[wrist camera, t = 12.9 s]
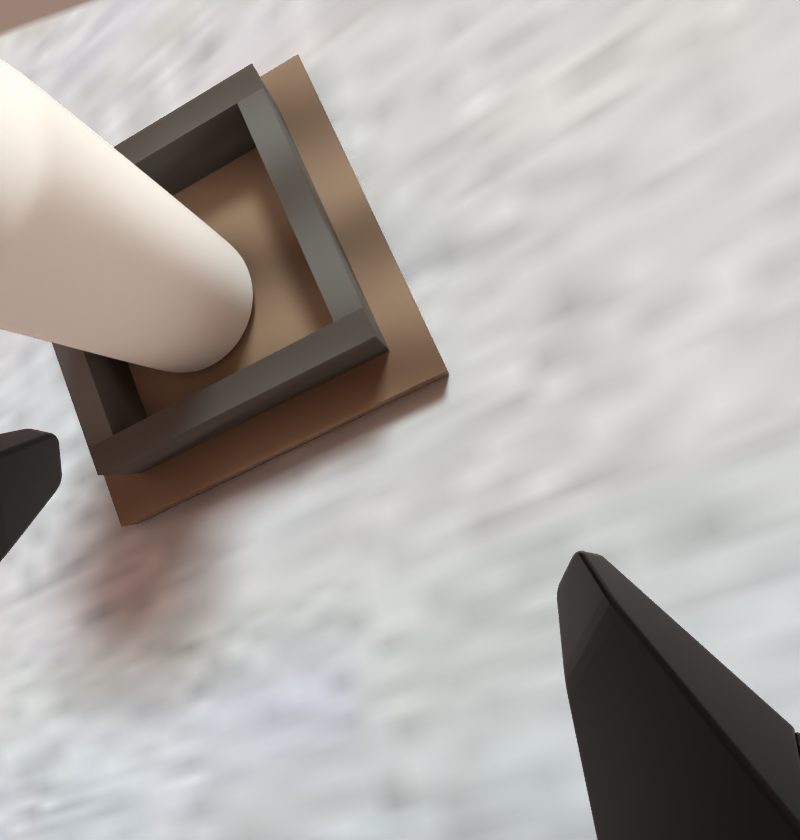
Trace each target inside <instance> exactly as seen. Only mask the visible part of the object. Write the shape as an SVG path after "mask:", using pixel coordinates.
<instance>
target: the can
mask: <svg viewBox="0 0 800 840" xmlns="http://www.w3.org/2000/svg"><path fill="white" fill-rule="evenodd" d="M252 302H253V289H252V282H251V277H250V274H249V271H248V268H247V266H246V264H245V262H244V260H243V259H242V257H241V256H240V254H239V253H238V252H237V251H236V250H235V249H234V248H233V247H232V246H231V245H230V244H229V243H228V242H227V241H226V240H225V239H224V238H222V237H221V236H220V235H219V234H218V233H216V232H215V231H214V230H213V229H212V228H211V227H209V226H208V225H207V224H206V223H205V222H203V221H202V220H201V219H200V218H198V217H197V216H196V215H195V214H194V213H192V212H191V211H190V210H189V209H188V208H186V207H185V206H184V205H183V204H182V203H180V202H179V201H178V200H177V199H176V198H174V197H173V196H172V195H171V194H169V193H168V192H167V191H166V190H165V189H163V188H162V187H161V186H160V185H159V184H157V183H156V182H155V181H154V180H152V179H151V178H150V177H149V176H148V175H146V174H145V173H144V172H143V171H141V170H140V169H139V168H138V167H137V166H135V165H134V164H133V163H132V162H130V161H129V160H128V159H127V158H126V157H124V156H123V155H122V154H121V153H120V152H118V151H117V150H116V149H115V148H113V147H112V146H111V145H110V144H109V143H107V142H106V141H105V140H104V139H102V138H101V137H100V136H99V135H97V134H96V133H95V132H94V131H93V130H91V129H90V128H89V127H88V126H86V125H85V124H84V123H83V122H82V121H80V120H79V119H78V118H77V117H75V116H74V115H73V114H72V113H71V112H69V111H68V110H67V109H66V108H64V107H63V106H62V105H61V104H59V103H58V102H57V101H56V100H54V99H53V98H52V97H51V96H49V95H48V94H47V93H46V92H45V91H43V90H42V89H41V88H39V87H38V86H37V85H36V84H34V83H33V82H32V81H30V80H29V79H28V78H27V77H25V76H24V75H23V74H21V73H20V72H19V71H17V70H16V69H15V68H13V67H12V66H10V65H9V64H7V63H6V62H4V61H3V60H1V59H0V329H3V330H7V331H11V332H14V333H18V334H22V335H26V336H30V337H33V338H37V339H41V340H45V341H49V342H53V343H56V344H60V345H64V346H68V347H72V348H75V349H79V350H83V351H87V352H91V353H95V354H99V355H102V356H106V357H110V358H114V359H118V360H122V361H126V362H130V363H133V364H137V365H141V366H145V367H149V368H153V369H158V370H162V371H167V372H177V373H186V372H195V371H199V370H202V369H205V368H207V367H209V366H211V365H213V364H215V363H216V362H218V361H219V360H221V359H222V358H223V357H225V356H226V355H227V354H228V353H229V352H230V351H231V350H232V349H233V348H234V346H235V345H236V344H237V343H238V341H239V340H240V338H241V336H242V335H243V333H244V331H245V329H246V327H247V324H248V321H249V318H250V315H251V310H252Z"/></svg>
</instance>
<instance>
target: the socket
mask: <svg viewBox="0 0 800 840" xmlns="http://www.w3.org/2000/svg"><path fill="white" fill-rule="evenodd" d="M113 148H115V149H116V150H117V151H118V152H120V153H121V154H122V155H123V156H124V157H126V158H127V159H128V160H129V161H130V162H132V163H133V164H134V165H135V166H137V167H138V168H139V169H140V170H141V171H143V172H144V173H145V174H146V175H148V176H149V177H150V178H151V179H152V180H154V181H155V182H156V183H157V184H159V185H160V186H161V187H162V188H163V189H165V190H166V191H167V192H168V193H169V194H171V195H172V196H173V197H174V198H176V199H177V200H178V201H179V202H180V203H182V204H183V205H184V206H185V207H186V208H188V209H189V210H190V211H191V212H192V213H194V214H195V215H196V216H197V217H198V218H200V219H201V220H202V221H203V222H205V223H206V224H207V225H208V226H209V227H211V228H212V229H213V230H214V231H215V232H216V233H218V234H219V235H220V236H221V237H222V238H224V239H225V240H226V241H227V242H228V243H229V244H230V245H231V246H232V247H233V248H234V249H235V250H236V251H237V252H238V253H239V254H240V256H241V257H242V259H243V260H244V262H245V264H246V266H247V268H248V271H249V274H250V277H251V282H252V289H253V302H252V310H251V315H250V318H249V321H248V324H247V327H246V329H245V331H244V333H243V335H242V336H241V338H240V340H239V341H238V343H237V344H236V345H235V346H234V348H233V349H232V350H231V351H230V352H229V353H228V354H227V355H226V356H225V357H223V358H222V359H221V360H219V361H218V362H216V363H215V364H213V365H211V366H209V367H207V368H205V369H202V370H199V371H195V372H186V373H177V372H167V371H162V370H158V369H153V368H149V367H145V366H141V365H137V364H133V363H130V362H126V361H122V360H118V359H114V358H110V357H106V356H102V355H99V354H95V353H91V352H87V351H83V350H79V349H75V348H72V347H68V346H64V345H60V344H56V343H53V342H52V344H53V347H54V350H55V353H56V356H57V359H58V361H59V364H60V367H61V370H62V373H63V376H64V379H65V382H66V384H67V387H68V390H69V393H70V396H71V399H72V402H73V405H74V407H75V410H76V413H77V416H78V419H79V422H80V425H81V428H82V430H83V433H84V436H85V439H86V442H87V445H88V448H89V451H90V453H91V456H92V459H93V462H94V465H95V468H96V471H97V474H98V475H104V477H105V480H106V483H107V486H108V488H109V491H110V494H111V497H112V500H113V503H114V506H115V509H116V511H117V514H118V517H119V520H120V523H121V526H128V525H133V524H138V523H140V522H142V521H144V520H146V519H148V518H150V517H152V516H154V515H157V514H159V513H161V512H163V511H165V510H167V509H169V508H171V507H173V506H175V505H177V504H180V503H182V502H184V501H186V500H188V499H190V498H192V497H194V496H196V495H198V494H200V493H202V492H205V491H207V490H209V489H211V488H213V487H215V486H217V485H219V484H221V483H223V482H225V481H228V480H230V479H232V478H234V477H236V476H238V475H240V474H242V473H244V472H246V471H248V470H250V469H253V468H255V467H257V466H259V465H261V464H263V463H265V462H267V461H269V460H271V459H273V458H275V457H278V456H280V455H282V454H284V453H286V452H288V451H290V450H292V449H294V448H296V447H298V446H301V445H303V444H305V443H307V442H309V441H311V440H313V439H315V438H317V437H319V436H321V435H323V434H326V433H328V432H330V431H332V430H334V429H336V428H338V427H340V426H342V425H344V424H346V423H349V422H351V421H353V420H355V419H357V418H359V417H361V416H363V415H365V414H367V413H369V412H371V411H374V410H376V409H378V408H380V407H382V406H384V405H386V404H388V403H390V402H392V401H394V400H397V399H399V398H401V397H403V396H405V395H407V394H409V393H411V392H413V391H415V390H417V389H419V388H422V387H424V386H426V385H428V384H430V383H432V382H434V381H436V380H438V379H440V378H442V377H444V376H447V375H449V373H448V371H447V369H446V367H445V364H444V362H443V360H442V358H441V356H440V354H439V352H438V350H437V347H436V345H435V343H434V341H433V339H432V337H431V335H430V333H429V331H428V328H427V326H426V324H425V322H424V320H423V318H422V316H421V314H420V311H419V309H418V307H417V305H416V303H415V301H414V299H413V297H412V295H411V292H410V290H409V288H408V286H407V284H406V282H405V280H404V278H403V275H402V273H401V271H400V269H399V267H398V265H397V263H396V261H395V259H394V256H393V254H392V252H391V250H390V248H389V246H388V244H387V242H386V239H385V237H384V235H383V233H382V231H381V229H380V227H379V225H378V223H377V220H376V218H375V216H374V214H373V212H372V210H371V208H370V206H369V203H368V201H367V199H366V197H365V195H364V193H363V191H362V189H361V187H360V184H359V182H358V180H357V178H356V176H355V174H354V172H353V170H352V167H351V165H350V163H349V161H348V159H347V157H346V155H345V153H344V151H343V148H342V146H341V144H340V142H339V140H338V138H337V136H336V134H335V131H334V129H333V127H332V125H331V123H330V121H329V119H328V117H327V115H326V112H325V110H324V108H323V106H322V104H321V102H320V100H319V98H318V95H317V93H316V91H315V89H314V87H313V85H312V83H311V81H310V79H309V76H308V74H307V72H306V70H305V68H304V66H303V64H302V62H301V60H300V57H299V55H296V56H294V57H293V58H291V59H289V60H288V61H286V62H284V63H283V64H281V65H279V66H278V67H276V68H274V69H273V70H271V71H269V72H268V73H266V74H264V75H263V76H261V77H260V76H259V74H258V73H257V71H256V69H255V68H254V66H253V64H250V65H248V66H247V67H245V68H244V69H242V70H240V71H239V72H237V73H235V74H234V75H232V76H230V77H229V78H227V79H225V80H224V81H222V82H220V83H219V84H217V85H215V86H214V87H212V88H211V89H209V90H207V91H206V92H204V93H202V94H201V95H199V96H197V97H196V98H194V99H192V100H191V101H189V102H187V103H186V104H184V105H182V106H181V107H179V108H178V109H176V110H174V111H173V112H171V113H169V114H168V115H166V116H164V117H163V118H161V119H159V120H158V121H156V122H154V123H153V124H151V125H150V126H148V127H146V128H145V129H143V130H141V131H140V132H138V133H136V134H135V135H133V136H131V137H130V138H128V139H126V140H125V141H123V142H121V143H120V144H118V145H117V146H115V147H113Z"/></svg>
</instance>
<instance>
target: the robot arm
mask: <svg viewBox="0 0 800 840" xmlns="http://www.w3.org/2000/svg"><path fill="white" fill-rule="evenodd" d="M61 478H62V471H61V460H60V449H59V441H58V439H57V437H56V436H55V435H53V434H52V433H48V432H43V431H39V430H34V429H23V430H18V431H13V432H8V433H3V434H0V562H1V560H2V559H3V558H4V557H5V556H6V554H7V553H8V552H9V551H10V549H11V548H12V547H13V546H14V544H15V543H16V542H17V541H18V539H19V538H20V537H21V535H22V534H23V533H24V532H25V530H26V529H27V528H28V526H29V525H30V524H31V523H32V521H33V520H34V519H35V517H36V516H37V515H38V514H39V512H40V511H41V510H42V509H43V507H44V506H45V505H46V503H47V502H48V501H49V500H50V498H51V497H52V496H53V494H54V493H55V492H56V490H57V489H58V487H59V485H60V482H61ZM557 603H558V614H559V624H560V635H561V645H562V655H563V666H564V674H565V682H566V688H567V694H568V699H569V704H570V709H571V714H572V718H573V723H574V728H575V733H576V738H577V743H578V748H579V752H580V757H581V762H582V767H583V772H584V777H585V781H586V786H587V791H588V796H589V801H590V806H591V811H592V815H593V820H594V825H595V830H596V835H597V840H800V733H798V732H795V730H794V728H793V727H792V726H791V725H790V724H789V723H788V722H787V721H786V720H785V719H784V718H782V717H781V716H780V715H779V714H778V713H777V712H776V711H775V710H774V709H772V708H771V707H770V706H769V705H768V704H767V703H766V702H765V701H764V700H762V699H761V698H760V697H759V696H758V695H757V694H756V693H755V692H753V691H752V690H751V689H750V688H749V687H748V686H747V685H746V684H745V683H743V682H742V681H741V680H740V679H739V678H738V677H737V676H736V675H734V674H733V673H732V672H731V671H730V670H729V669H728V668H727V667H726V666H724V665H723V664H722V663H721V662H720V661H719V660H718V659H717V658H716V657H714V656H713V655H712V654H711V653H710V652H709V651H708V650H707V649H705V648H704V647H703V646H702V645H701V644H700V643H699V642H698V641H697V640H695V639H694V638H693V637H692V636H691V635H690V634H689V633H688V632H687V631H685V630H684V629H683V628H682V627H681V626H680V625H679V624H678V623H676V622H675V621H674V620H673V619H672V618H671V617H670V616H669V615H668V614H666V613H665V612H664V611H663V610H662V609H661V608H660V607H659V606H658V605H656V604H655V603H654V602H653V601H652V600H651V599H650V598H649V597H647V596H646V595H645V594H644V593H643V592H642V591H641V590H640V589H639V588H637V587H636V586H635V585H634V584H633V583H632V582H631V581H630V580H629V579H627V578H626V577H625V576H624V575H623V574H622V573H621V572H620V571H618V570H617V569H616V568H615V567H614V566H613V565H612V564H611V563H610V562H608V561H607V560H606V559H605V558H604V557H603V556H601V555H598V554H594V553H589V552H585V551H578V552H576V553H575V554H574V555H573V557H572V559H571V561H570V563H569V565H568V567H567V569H566V571H565V573H564V575H563V577H562V580H561V582H560V584H559V587H558V591H557Z"/></svg>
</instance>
